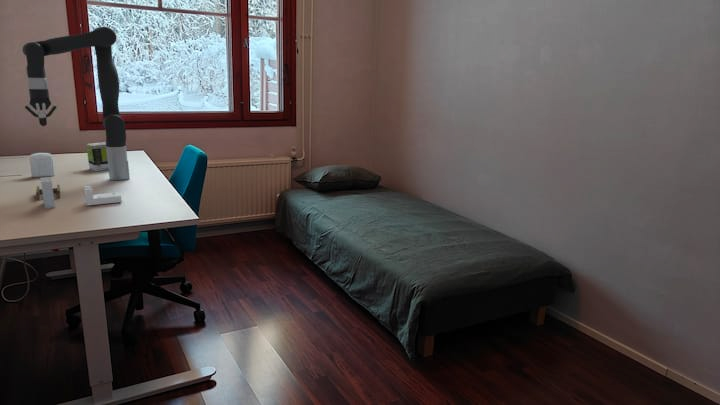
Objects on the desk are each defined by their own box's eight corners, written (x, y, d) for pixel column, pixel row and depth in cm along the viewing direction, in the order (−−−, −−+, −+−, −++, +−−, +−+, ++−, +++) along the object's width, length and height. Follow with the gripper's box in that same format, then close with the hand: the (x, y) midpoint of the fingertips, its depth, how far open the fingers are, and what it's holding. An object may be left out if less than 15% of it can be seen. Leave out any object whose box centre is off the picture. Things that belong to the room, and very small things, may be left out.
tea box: (116, 166, 287) (114, 141, 283) (122, 168, 280) (120, 143, 276) (88, 168, 276) (85, 143, 273) (94, 171, 269) (91, 145, 266)
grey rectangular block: (53, 202, 206) (50, 177, 204) (55, 207, 199) (51, 181, 196) (43, 203, 204) (40, 177, 202) (45, 208, 197) (41, 182, 194)
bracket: (87, 207, 201) (85, 189, 199) (86, 203, 207) (83, 186, 205) (121, 203, 208) (120, 186, 206) (119, 200, 213) (117, 183, 211)
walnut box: (60, 192, 224) (59, 184, 223) (60, 198, 213) (59, 190, 212) (38, 194, 219) (37, 186, 218) (37, 201, 208) (36, 192, 207)
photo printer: (54, 174, 259) (51, 151, 256) (55, 176, 256) (52, 152, 253) (31, 176, 254) (28, 153, 250) (31, 177, 250) (28, 154, 247)
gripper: (20, 88, 215) (26, 127, 220) (55, 88, 222) (60, 126, 226) (21, 87, 222) (27, 125, 226) (55, 87, 228) (60, 124, 233)
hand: (43, 126), depth 226 cm, fingers closed
